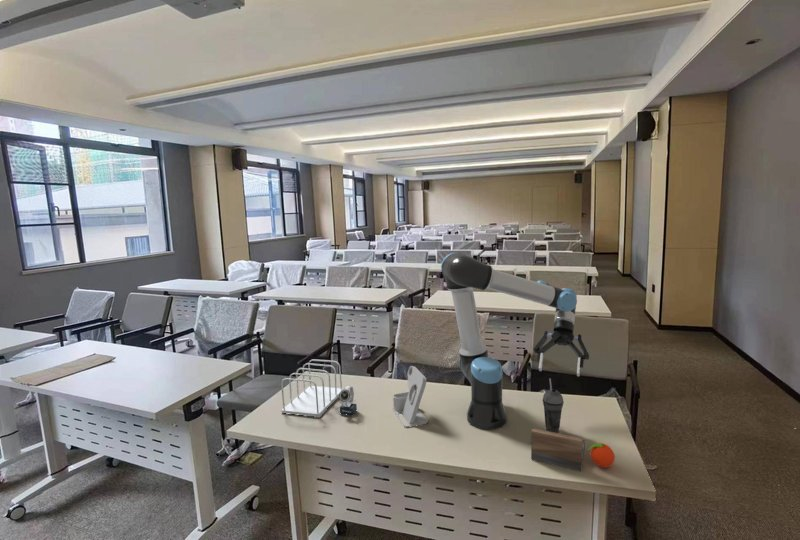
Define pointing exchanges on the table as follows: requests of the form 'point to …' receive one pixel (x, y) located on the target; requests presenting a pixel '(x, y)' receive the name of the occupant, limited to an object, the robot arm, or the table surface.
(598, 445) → the clementine
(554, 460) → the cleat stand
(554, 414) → the beverage cup
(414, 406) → the phone holder
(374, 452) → the table surface
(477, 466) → the table surface
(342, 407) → the webcam
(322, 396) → the file sorter
